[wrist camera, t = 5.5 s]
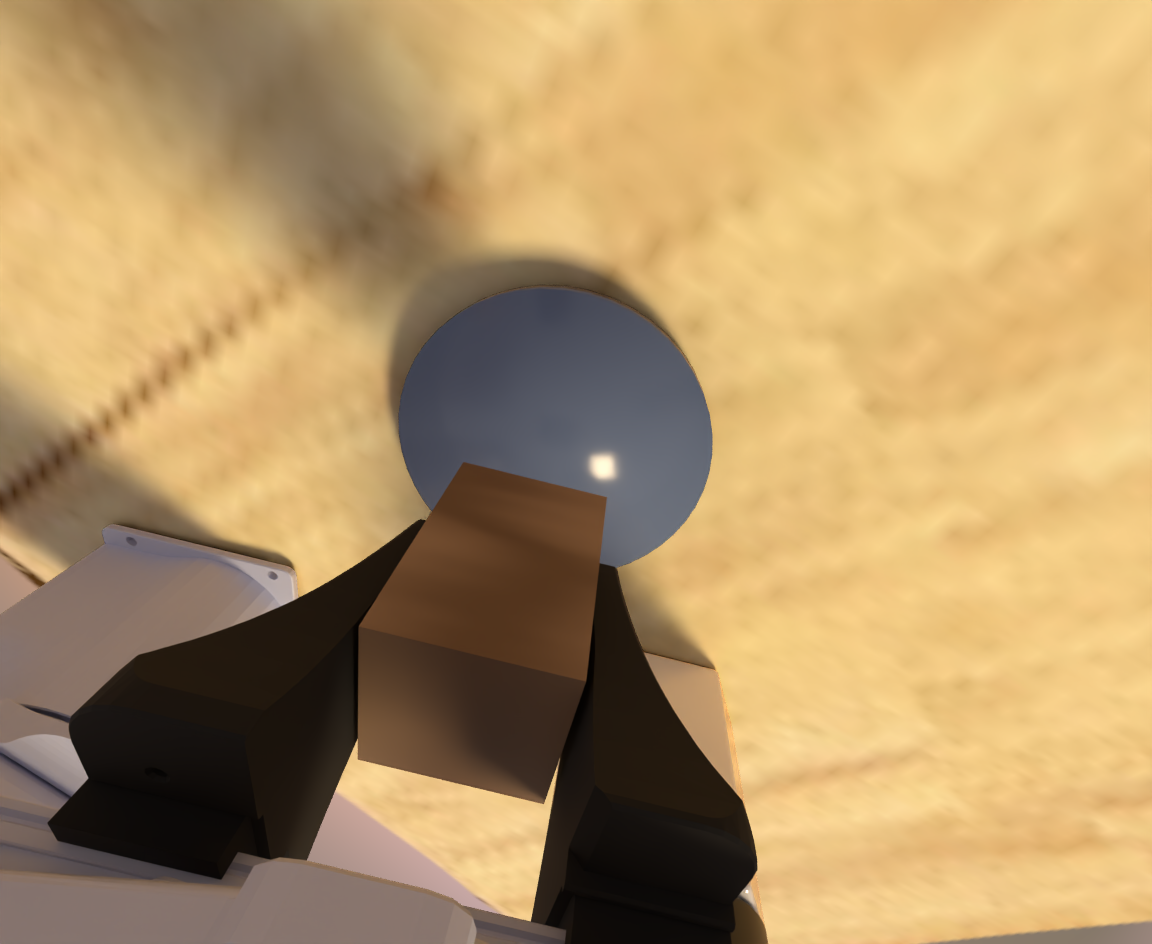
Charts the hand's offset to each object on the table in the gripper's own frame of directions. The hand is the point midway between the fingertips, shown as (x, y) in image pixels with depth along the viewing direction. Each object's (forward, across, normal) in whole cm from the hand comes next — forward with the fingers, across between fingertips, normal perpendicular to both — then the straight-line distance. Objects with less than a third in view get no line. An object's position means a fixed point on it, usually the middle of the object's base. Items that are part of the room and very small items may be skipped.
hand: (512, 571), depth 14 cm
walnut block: (+2, 0, 0) cm, 2 cm away
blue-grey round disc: (+8, 0, 0) cm, 8 cm away
